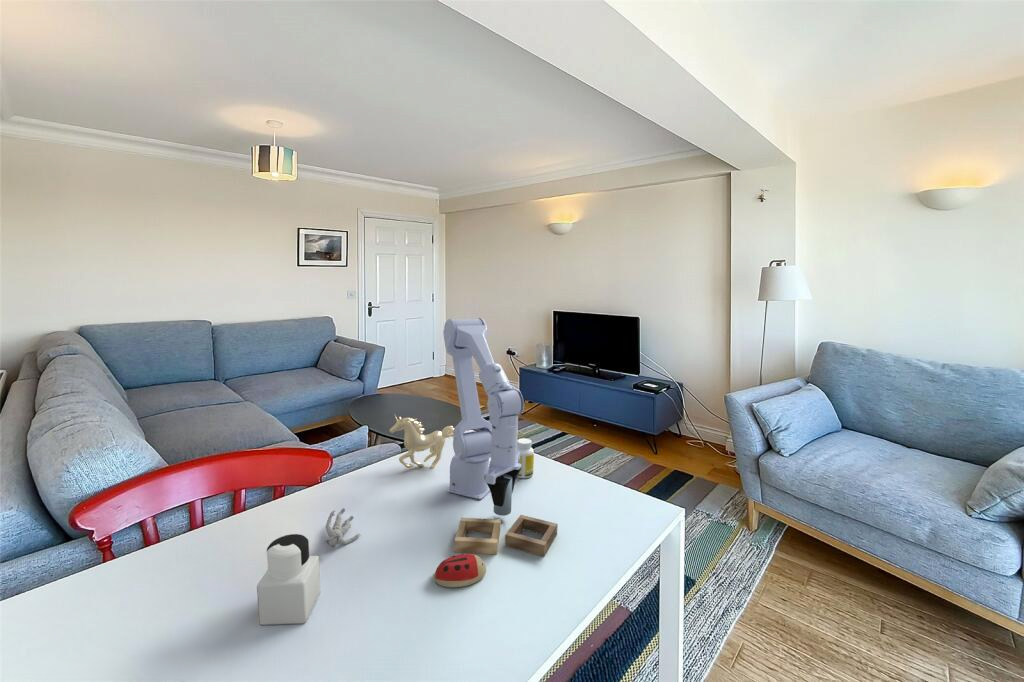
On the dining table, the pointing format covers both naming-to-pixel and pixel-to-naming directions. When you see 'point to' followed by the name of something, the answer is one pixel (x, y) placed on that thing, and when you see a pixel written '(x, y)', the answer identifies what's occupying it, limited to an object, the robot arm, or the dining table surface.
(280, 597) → the white blocky bust figurine
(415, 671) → the dining table surface
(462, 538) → the light wooden square frame
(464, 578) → the ladybug figurine
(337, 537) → the grey branched piece
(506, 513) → the thick gray cylindrical peg
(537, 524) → the wooden square ring
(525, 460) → the supplement bottle
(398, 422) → the unicorn
